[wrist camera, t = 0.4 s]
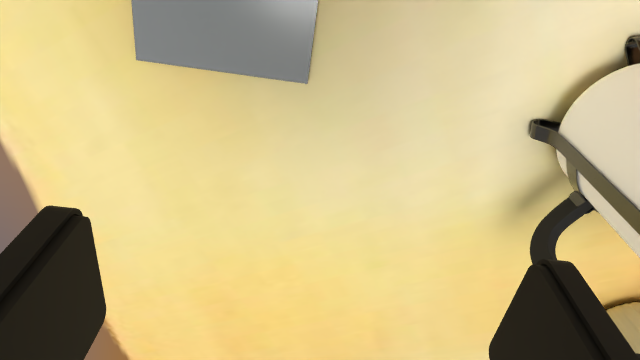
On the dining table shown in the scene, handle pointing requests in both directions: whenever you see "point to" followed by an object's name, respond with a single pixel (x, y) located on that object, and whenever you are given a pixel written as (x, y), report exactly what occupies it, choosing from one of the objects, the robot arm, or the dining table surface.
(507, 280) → the dining table surface
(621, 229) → the coffee press
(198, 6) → the slate board
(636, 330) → the canister
